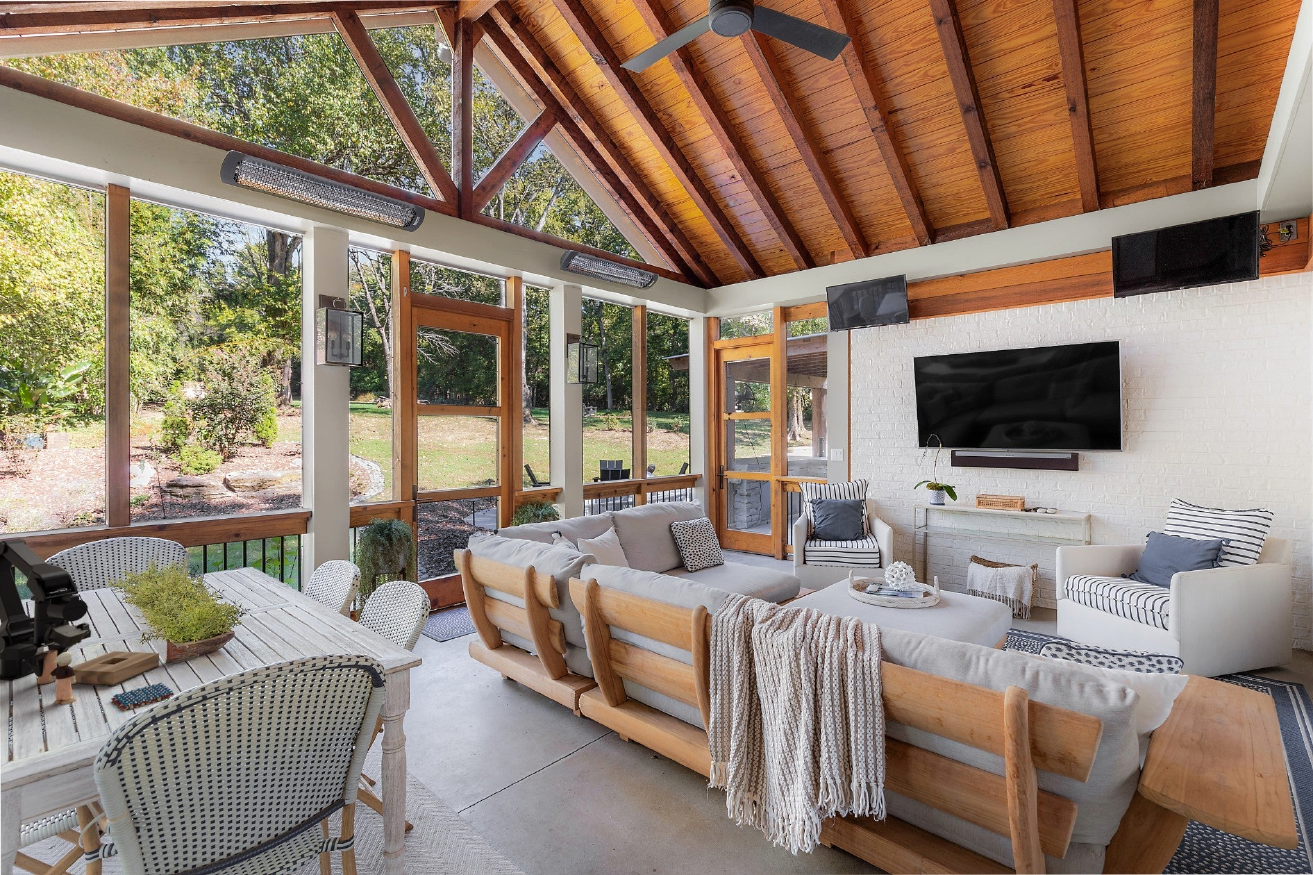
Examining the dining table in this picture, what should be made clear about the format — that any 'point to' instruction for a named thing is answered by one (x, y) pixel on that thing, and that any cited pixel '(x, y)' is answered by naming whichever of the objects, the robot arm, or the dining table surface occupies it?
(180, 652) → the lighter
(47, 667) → the peg
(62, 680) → the grandmother figurine
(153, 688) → the woven mat
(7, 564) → the robot arm
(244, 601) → the dining table surface
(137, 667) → the bore block
